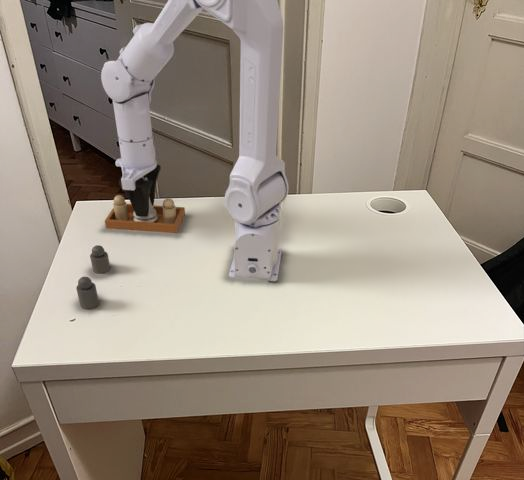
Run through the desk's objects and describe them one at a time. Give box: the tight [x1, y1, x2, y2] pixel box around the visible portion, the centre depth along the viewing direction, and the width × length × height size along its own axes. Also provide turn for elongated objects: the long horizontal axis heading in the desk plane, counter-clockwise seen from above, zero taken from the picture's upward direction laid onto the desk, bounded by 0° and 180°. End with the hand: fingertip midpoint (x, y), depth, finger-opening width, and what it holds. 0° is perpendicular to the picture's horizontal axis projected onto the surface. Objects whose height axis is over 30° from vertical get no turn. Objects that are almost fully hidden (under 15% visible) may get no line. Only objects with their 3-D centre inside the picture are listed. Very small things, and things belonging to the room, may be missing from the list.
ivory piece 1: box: [112, 194, 129, 221], centre depth 105 cm, size 2×2×5 cm
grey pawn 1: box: [75, 276, 100, 310], centre depth 85 cm, size 3×3×5 cm
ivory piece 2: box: [162, 197, 177, 224], centre depth 104 cm, size 2×2×5 cm
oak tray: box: [104, 203, 186, 234], centre depth 105 cm, size 7×13×2 cm, turn 84°
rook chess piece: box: [133, 176, 158, 223], centre depth 103 cm, size 4×4×8 cm
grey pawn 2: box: [89, 244, 111, 275], centre depth 92 cm, size 3×3×5 cm
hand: (145, 210), depth 104 cm, fingers closed on rook chess piece, 3 cm apart
